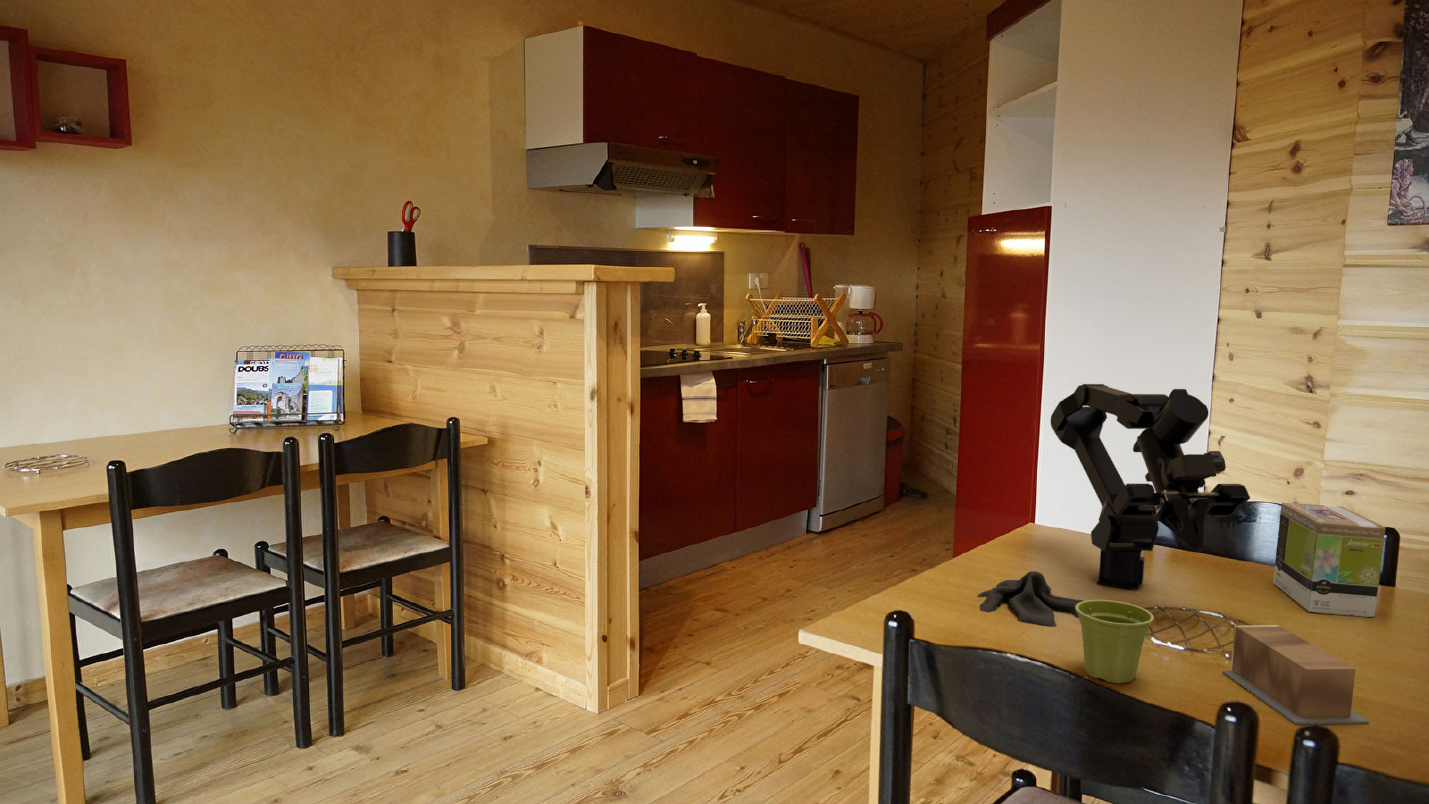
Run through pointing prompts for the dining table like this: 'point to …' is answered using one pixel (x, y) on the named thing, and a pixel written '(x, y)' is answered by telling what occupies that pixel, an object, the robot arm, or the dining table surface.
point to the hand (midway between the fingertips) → (1199, 549)
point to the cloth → (1029, 599)
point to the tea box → (1329, 559)
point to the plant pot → (1112, 638)
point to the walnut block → (1293, 671)
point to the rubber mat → (1287, 712)
